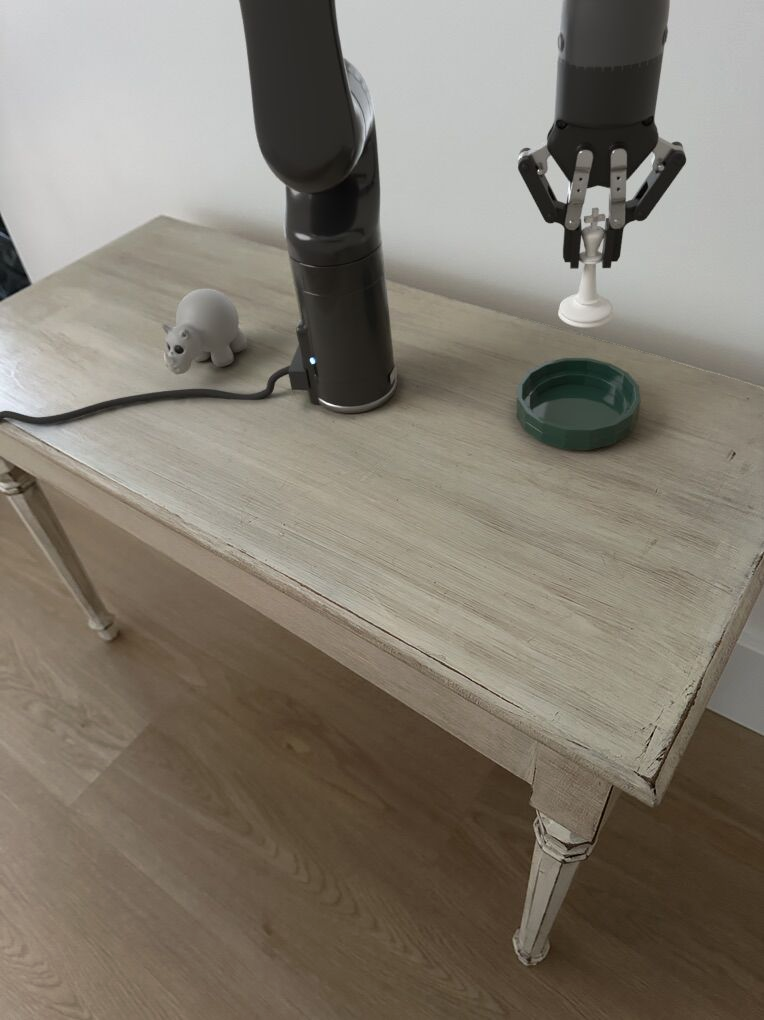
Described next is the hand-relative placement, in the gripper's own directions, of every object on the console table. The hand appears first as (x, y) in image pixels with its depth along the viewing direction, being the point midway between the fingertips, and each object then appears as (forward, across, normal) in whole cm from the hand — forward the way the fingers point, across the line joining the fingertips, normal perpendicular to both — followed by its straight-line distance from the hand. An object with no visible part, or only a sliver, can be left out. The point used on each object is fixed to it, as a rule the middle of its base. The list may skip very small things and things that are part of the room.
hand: (589, 263), depth 70 cm
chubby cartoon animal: (+17, +43, -8) cm, 47 cm away
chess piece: (+5, 0, 0) cm, 5 cm away
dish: (+17, 0, 0) cm, 17 cm away
